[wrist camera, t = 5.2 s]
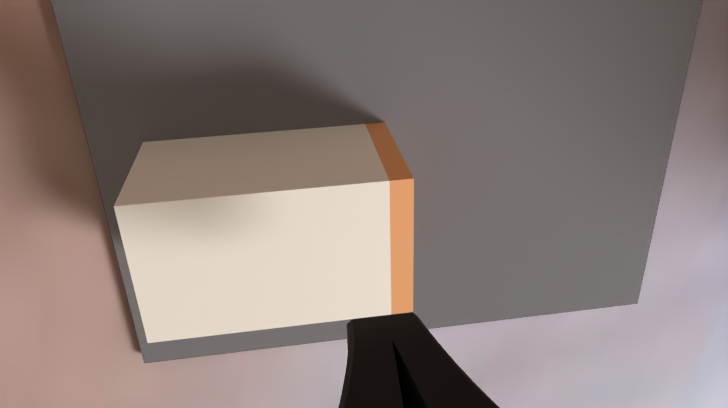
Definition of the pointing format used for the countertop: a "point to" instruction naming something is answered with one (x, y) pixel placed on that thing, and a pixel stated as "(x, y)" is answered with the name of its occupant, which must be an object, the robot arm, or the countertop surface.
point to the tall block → (268, 230)
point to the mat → (416, 129)
